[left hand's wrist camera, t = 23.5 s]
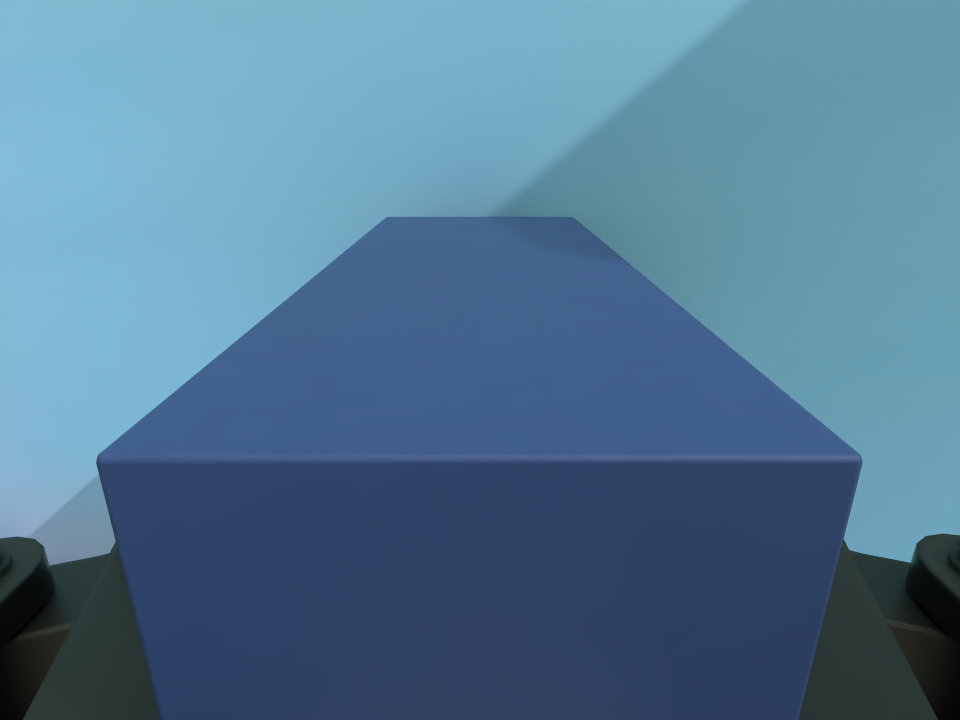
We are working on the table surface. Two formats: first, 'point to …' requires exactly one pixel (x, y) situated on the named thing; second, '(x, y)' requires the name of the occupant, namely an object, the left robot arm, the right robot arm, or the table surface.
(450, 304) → the brick
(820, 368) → the table surface
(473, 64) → the table surface
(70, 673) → the left robot arm
